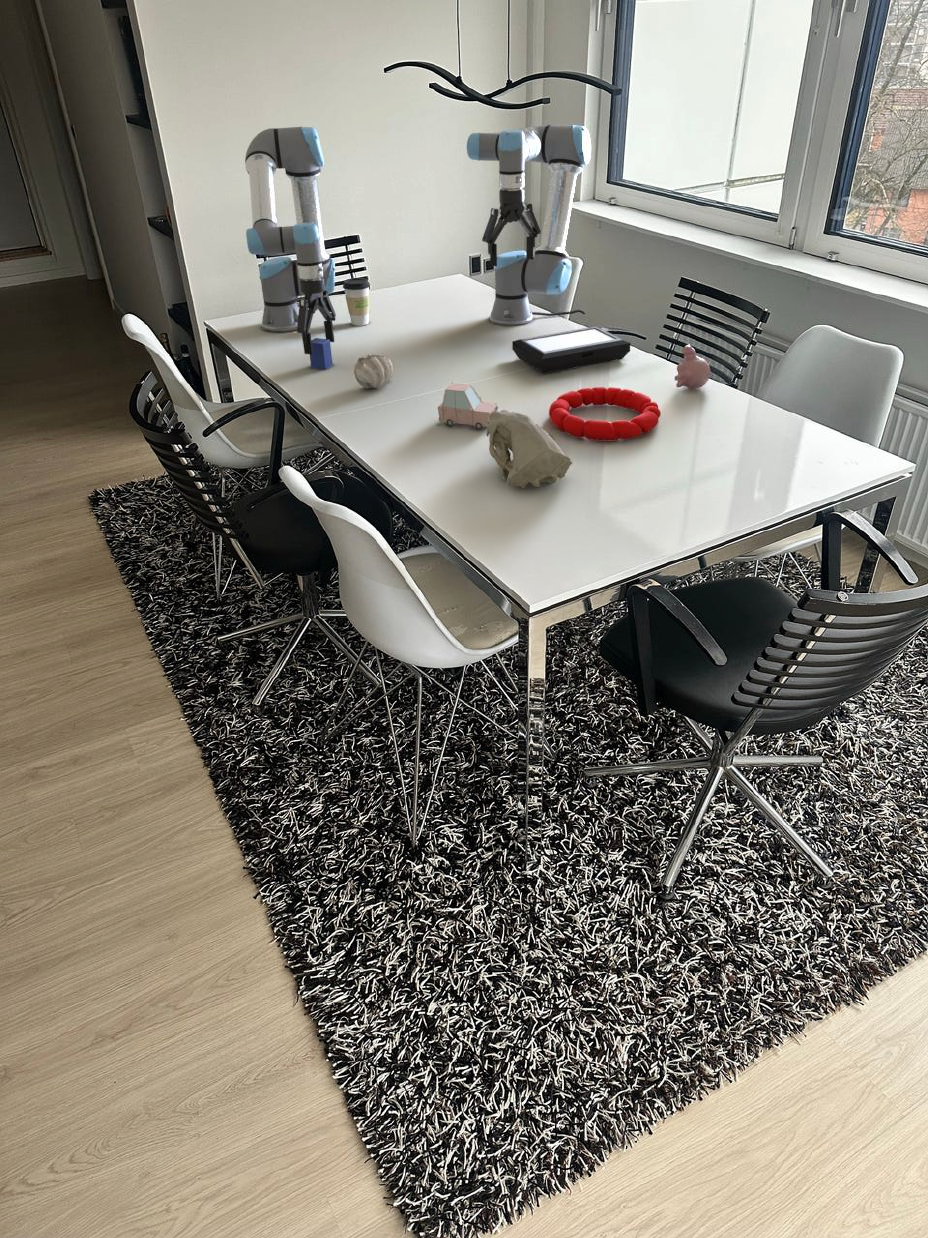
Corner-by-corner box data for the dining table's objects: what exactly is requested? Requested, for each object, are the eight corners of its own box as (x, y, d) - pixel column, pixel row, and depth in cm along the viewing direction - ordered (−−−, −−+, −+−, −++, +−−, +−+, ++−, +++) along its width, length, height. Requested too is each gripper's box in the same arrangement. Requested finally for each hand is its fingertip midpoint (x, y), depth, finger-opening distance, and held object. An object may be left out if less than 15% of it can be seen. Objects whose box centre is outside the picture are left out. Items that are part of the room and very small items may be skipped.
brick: (325, 369, 286) (322, 343, 281) (311, 368, 288) (307, 342, 283) (332, 365, 290) (330, 339, 285) (318, 363, 291) (315, 337, 287)
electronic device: (541, 356, 271) (512, 338, 286) (541, 376, 275) (512, 357, 290) (630, 340, 281) (597, 324, 296) (629, 359, 285) (596, 342, 300)
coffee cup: (372, 326, 323) (368, 283, 314) (345, 327, 323) (340, 284, 315) (374, 318, 331) (371, 276, 322) (348, 319, 331) (344, 277, 323)
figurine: (665, 387, 264) (669, 347, 257) (693, 380, 268) (698, 340, 261) (686, 396, 257) (690, 355, 250) (714, 388, 262) (720, 348, 255)
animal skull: (496, 517, 219) (521, 479, 201) (463, 429, 225) (484, 384, 207) (557, 503, 225) (586, 465, 206) (523, 417, 231) (549, 373, 212)
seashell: (346, 386, 272) (343, 354, 266) (390, 377, 278) (388, 345, 272) (359, 397, 264) (356, 364, 259) (405, 387, 270) (402, 354, 264)
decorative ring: (589, 435, 224) (684, 402, 234) (527, 398, 247) (617, 369, 256) (589, 461, 229) (683, 427, 238) (529, 422, 251) (617, 393, 260)
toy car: (488, 432, 240) (488, 396, 234) (436, 426, 244) (434, 390, 239) (499, 419, 247) (499, 384, 241) (448, 413, 252) (447, 379, 246)
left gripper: (300, 288, 262) (310, 360, 274) (341, 269, 281) (348, 337, 293) (279, 287, 265) (289, 358, 277) (321, 268, 284) (328, 335, 296)
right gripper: (483, 195, 262) (484, 270, 274) (552, 185, 272) (551, 258, 284) (470, 191, 267) (471, 265, 279) (538, 181, 277) (537, 253, 289)
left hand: (319, 347), depth 285 cm, fingers open, 13 cm apart
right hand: (511, 262), depth 282 cm, fingers open, 13 cm apart
